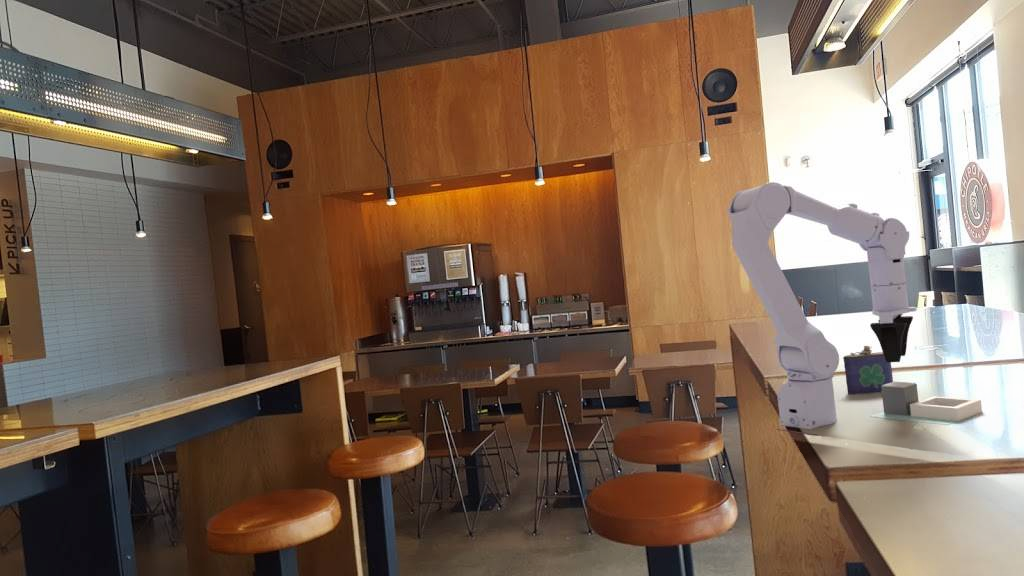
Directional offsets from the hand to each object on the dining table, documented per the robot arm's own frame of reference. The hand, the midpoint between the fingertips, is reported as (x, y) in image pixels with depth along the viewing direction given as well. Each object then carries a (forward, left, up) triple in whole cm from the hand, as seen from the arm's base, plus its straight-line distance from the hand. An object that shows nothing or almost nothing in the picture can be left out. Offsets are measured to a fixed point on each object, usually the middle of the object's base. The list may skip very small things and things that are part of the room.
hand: (896, 358), depth 126 cm
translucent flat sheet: (-4, -7, -10) cm, 12 cm away
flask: (+10, +12, -10) cm, 19 cm away
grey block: (-5, -3, -9) cm, 10 cm away
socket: (-3, -9, -9) cm, 13 cm away
